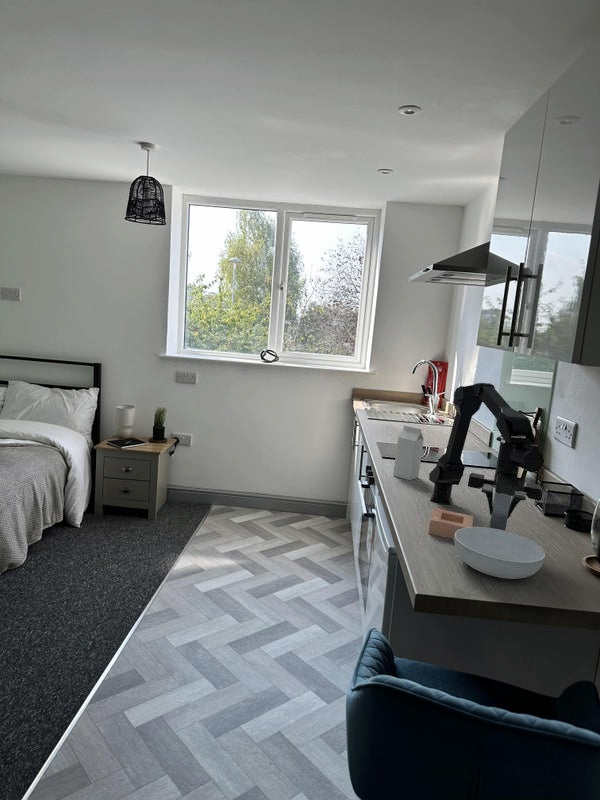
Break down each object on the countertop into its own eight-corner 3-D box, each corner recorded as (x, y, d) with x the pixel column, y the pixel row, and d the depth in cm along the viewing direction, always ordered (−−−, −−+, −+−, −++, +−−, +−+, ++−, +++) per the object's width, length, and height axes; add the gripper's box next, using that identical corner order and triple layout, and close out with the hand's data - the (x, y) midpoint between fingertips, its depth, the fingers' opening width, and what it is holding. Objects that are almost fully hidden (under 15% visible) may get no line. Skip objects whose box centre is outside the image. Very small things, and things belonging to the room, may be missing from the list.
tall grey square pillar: (489, 524, 153) (495, 490, 151) (504, 527, 152) (510, 493, 150) (489, 529, 149) (495, 494, 148) (504, 532, 148) (511, 497, 146)
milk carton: (410, 480, 201) (417, 430, 198) (392, 475, 205) (399, 426, 202) (418, 477, 207) (425, 428, 204) (401, 472, 211) (408, 424, 208)
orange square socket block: (432, 520, 162) (434, 508, 161) (471, 529, 158) (473, 516, 158) (428, 533, 151) (430, 519, 151) (469, 542, 148) (471, 528, 147)
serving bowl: (521, 555, 143) (526, 530, 142) (555, 595, 123) (561, 567, 122) (442, 546, 144) (446, 521, 143) (462, 584, 123) (467, 556, 122)
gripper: (471, 461, 143) (462, 518, 145) (548, 475, 137) (538, 534, 139) (473, 452, 153) (464, 505, 156) (545, 465, 147) (535, 520, 150)
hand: (499, 516), depth 150 cm, fingers closed on tall grey square pillar, 4 cm apart
